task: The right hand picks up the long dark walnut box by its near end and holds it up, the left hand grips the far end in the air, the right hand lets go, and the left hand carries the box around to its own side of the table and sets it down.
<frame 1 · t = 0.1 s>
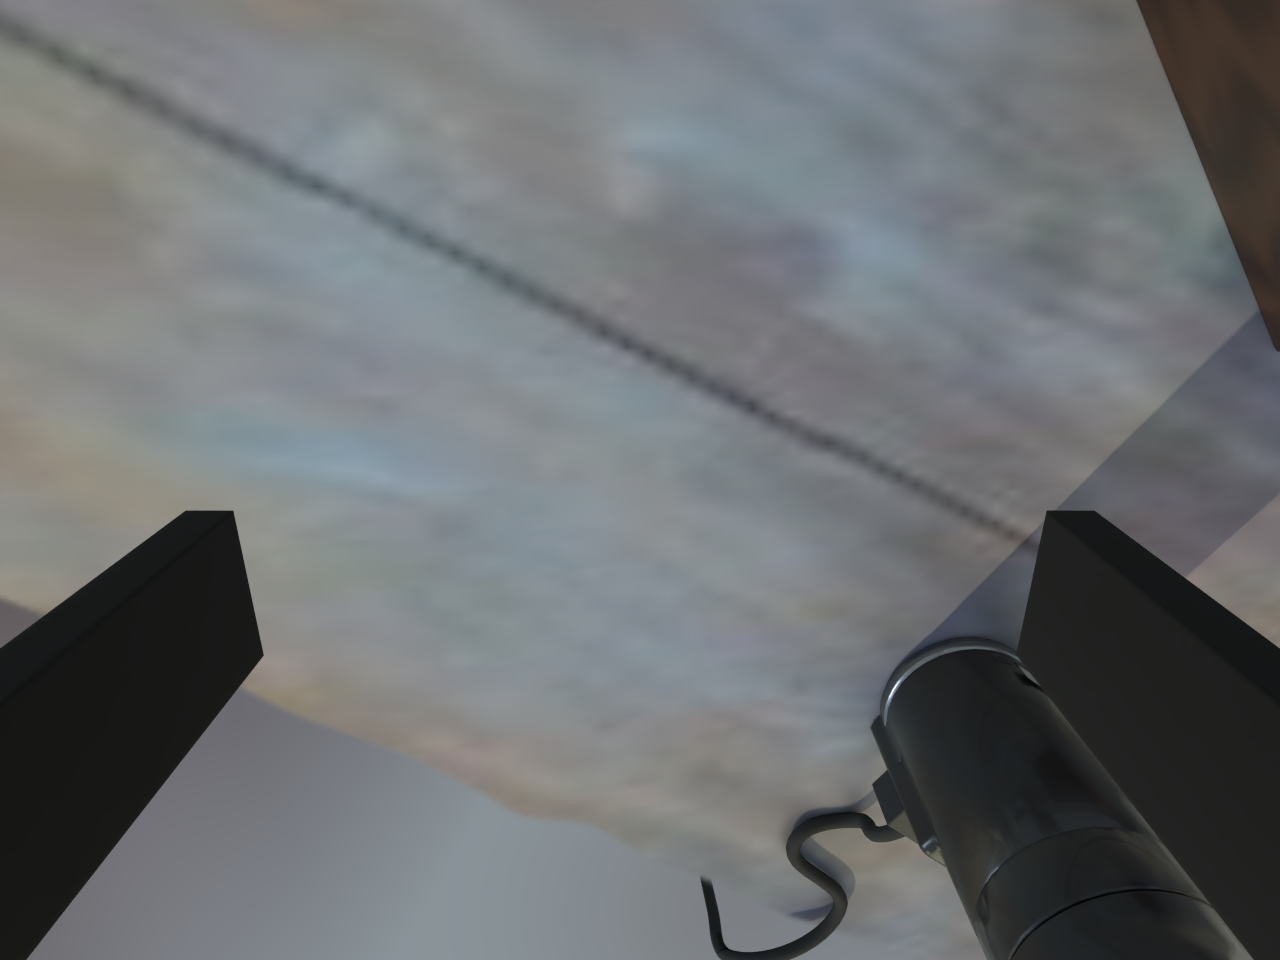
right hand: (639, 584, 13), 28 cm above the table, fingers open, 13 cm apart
walnut box: (1245, 107, 35), on the table
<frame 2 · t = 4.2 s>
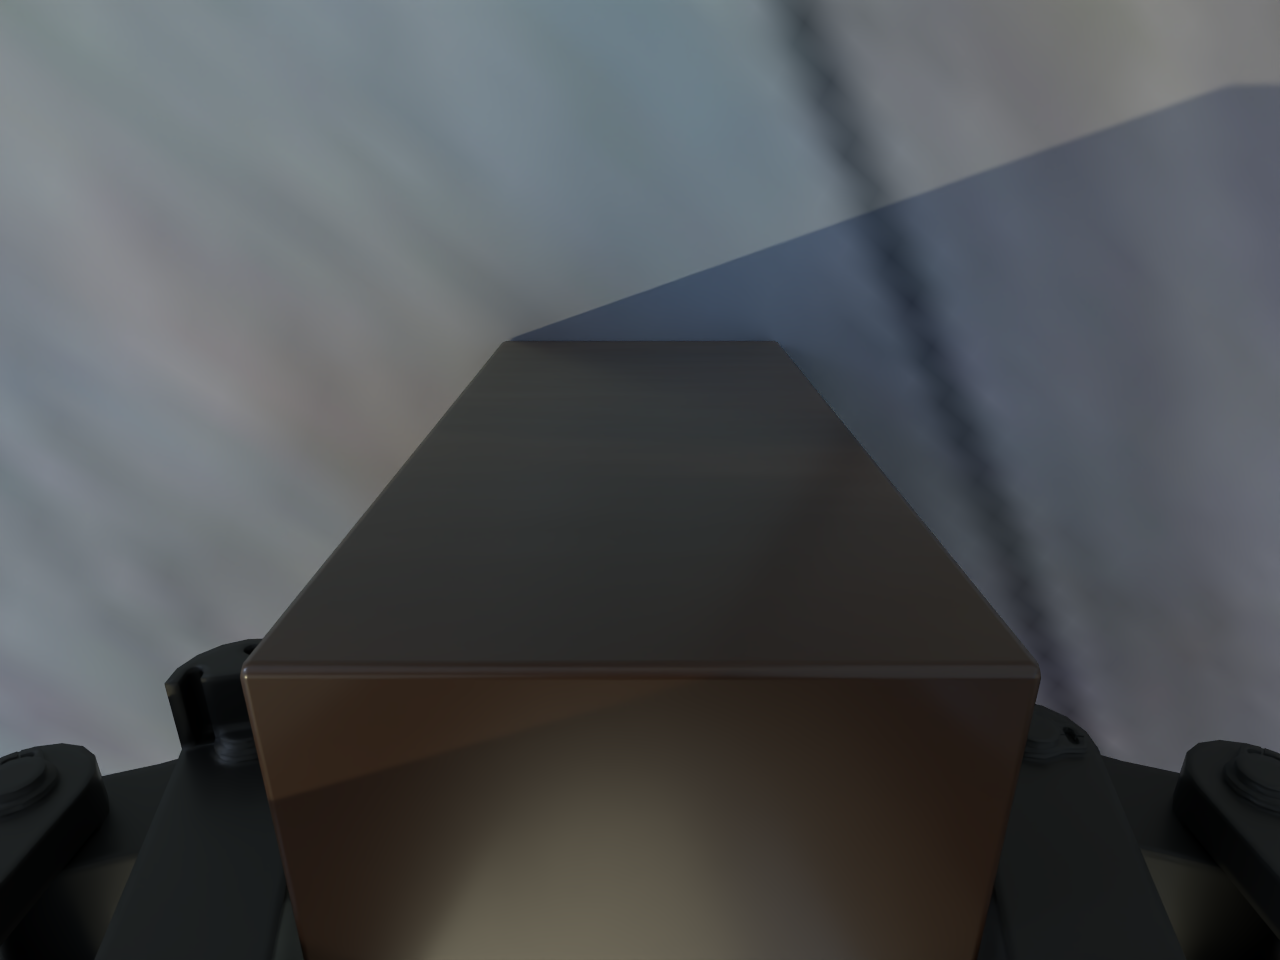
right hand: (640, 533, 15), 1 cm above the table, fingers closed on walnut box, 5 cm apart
walnut box: (640, 843, 18), on the table, touching right hand
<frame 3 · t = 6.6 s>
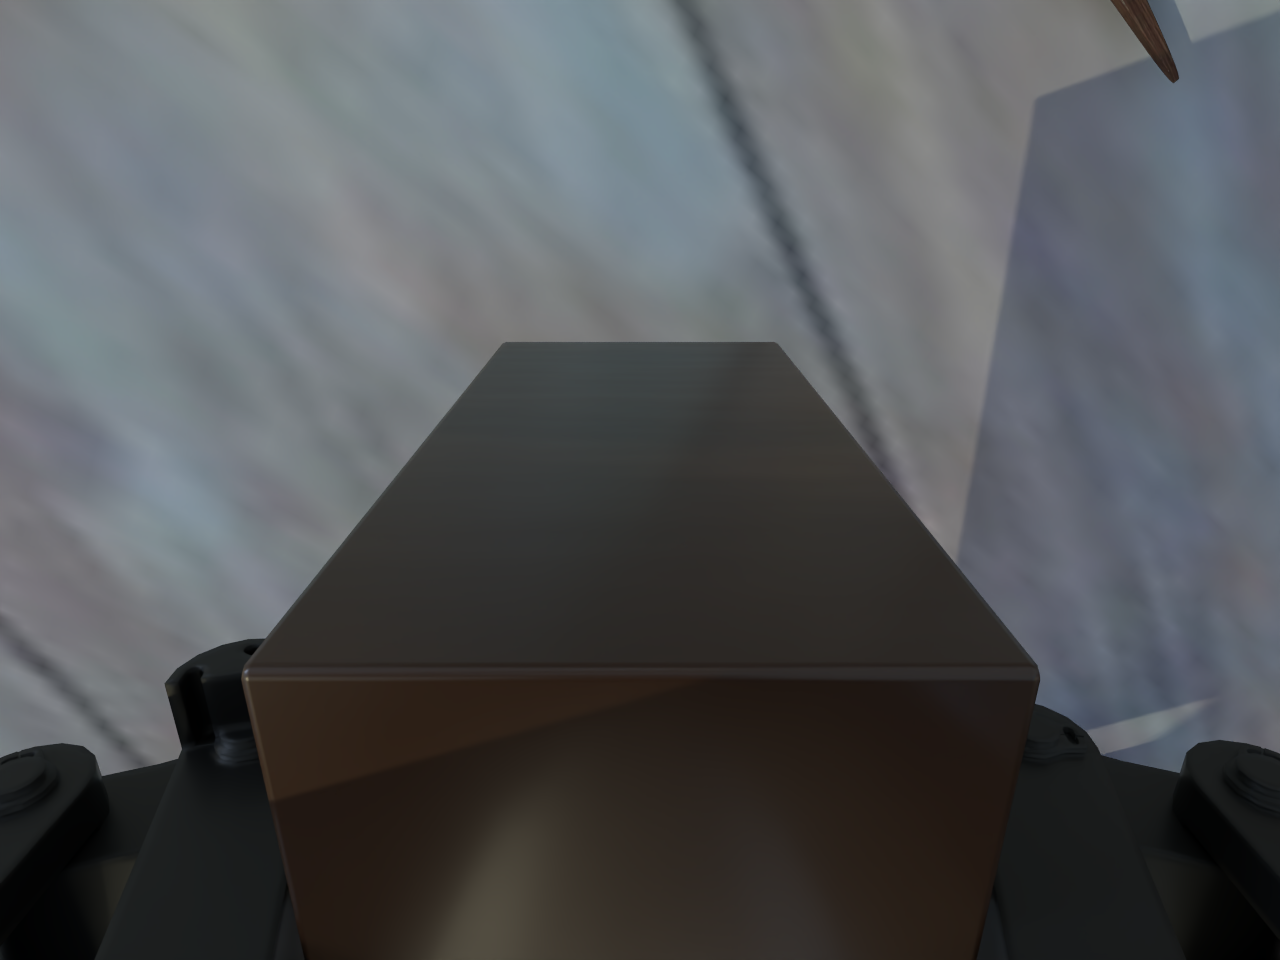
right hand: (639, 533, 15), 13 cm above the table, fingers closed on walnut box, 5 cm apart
walnut box: (640, 843, 18), point 12 cm above the table, touching right hand
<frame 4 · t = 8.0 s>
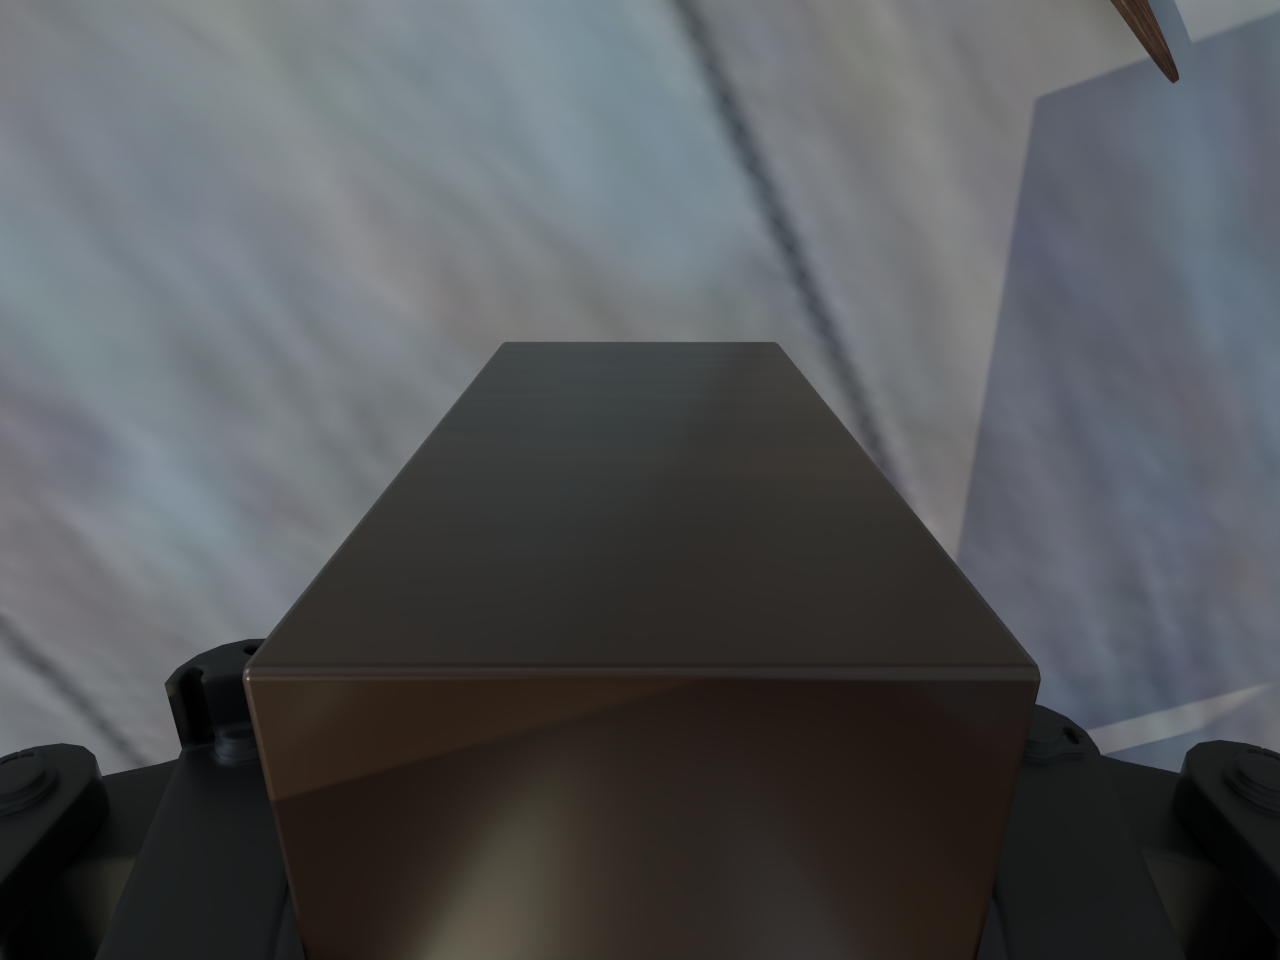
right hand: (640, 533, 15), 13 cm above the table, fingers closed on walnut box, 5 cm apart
walnut box: (639, 843, 18), point 12 cm above the table, touching right hand, left hand
when the right hand's fingers open (13 cm above the table, at t = 9.0 s): walnut box stays where it is, held by the left hand.
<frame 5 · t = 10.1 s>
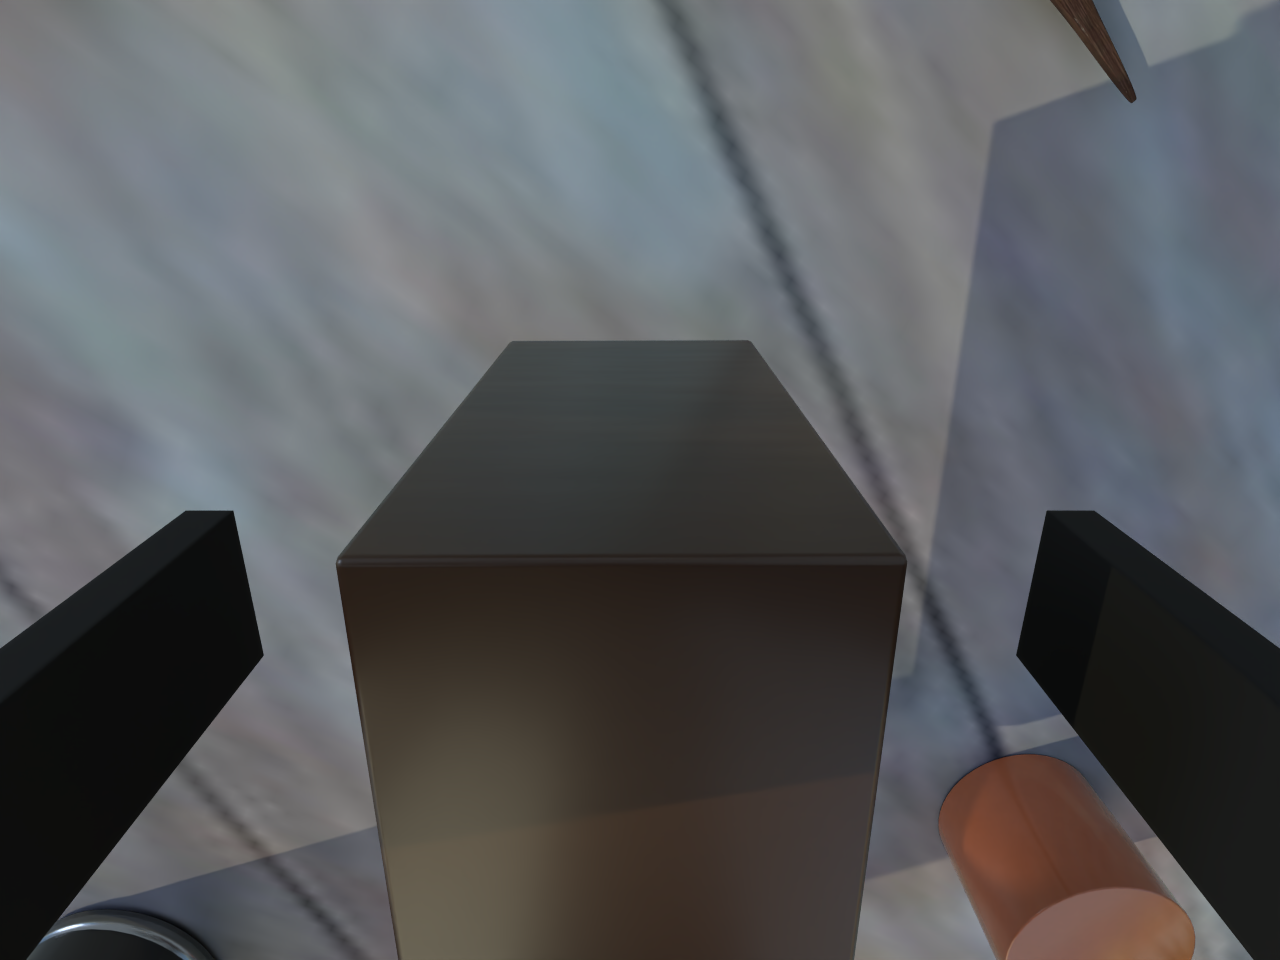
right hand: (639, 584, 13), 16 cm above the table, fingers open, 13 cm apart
walnut box: (633, 798, 20), point 12 cm above the table, touching left hand
orange clay cylinder: (1014, 815, 36), on the table
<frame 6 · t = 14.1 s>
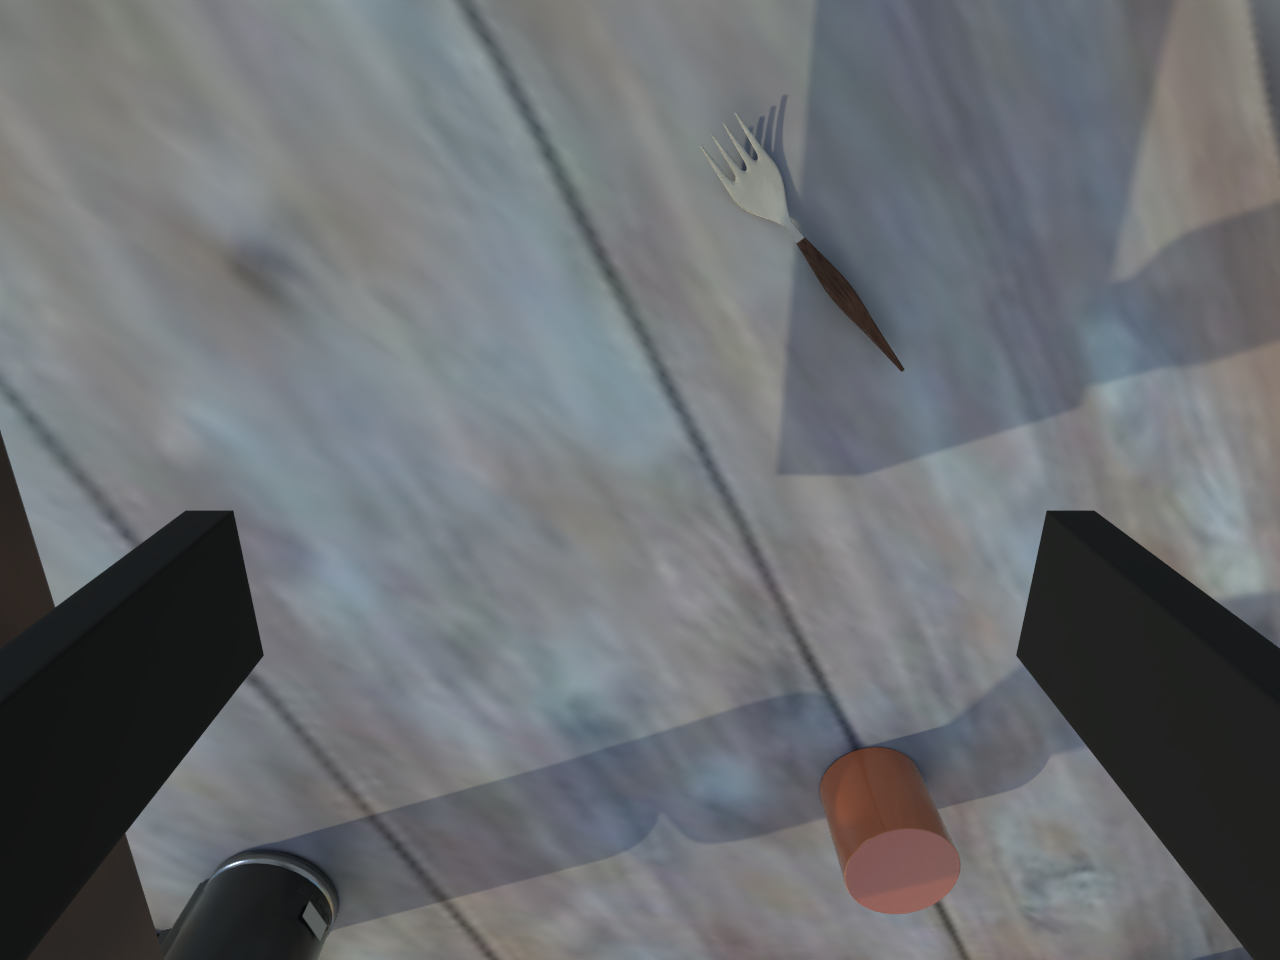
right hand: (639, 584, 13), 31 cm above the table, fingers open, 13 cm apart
walnut box: (2, 713, 22), point 24 cm above the table, touching left hand
orange clay cylinder: (870, 787, 54), on the table
fork: (811, 255, 41), on the table
when the left hand's fingers open (5 cm above the table, at t = 20.3 s): walnut box drops 1 cm, on the table.
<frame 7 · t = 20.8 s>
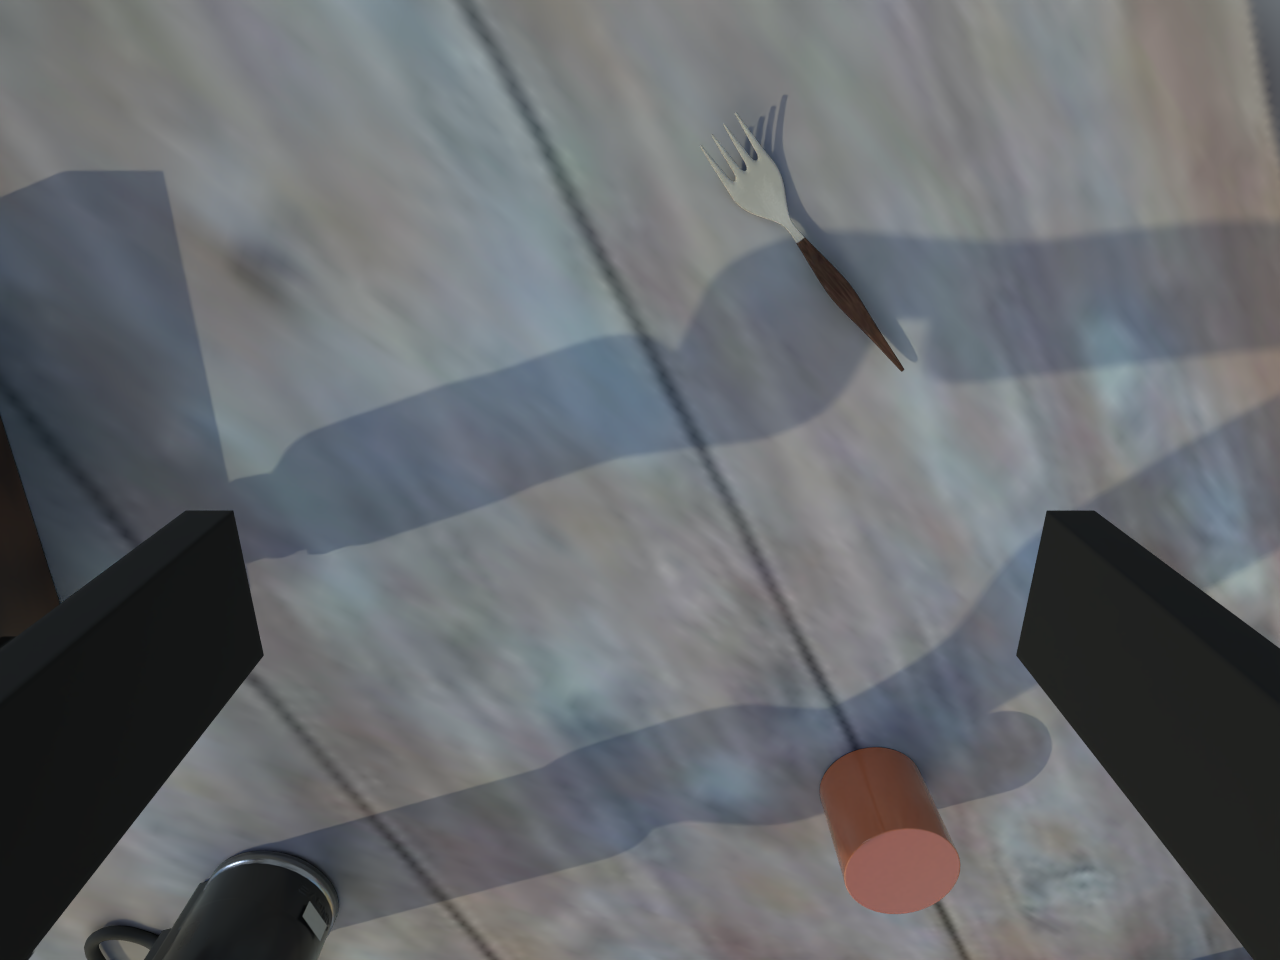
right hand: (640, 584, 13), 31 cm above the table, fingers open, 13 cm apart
orange clay cylinder: (870, 787, 54), on the table
fork: (811, 255, 41), on the table
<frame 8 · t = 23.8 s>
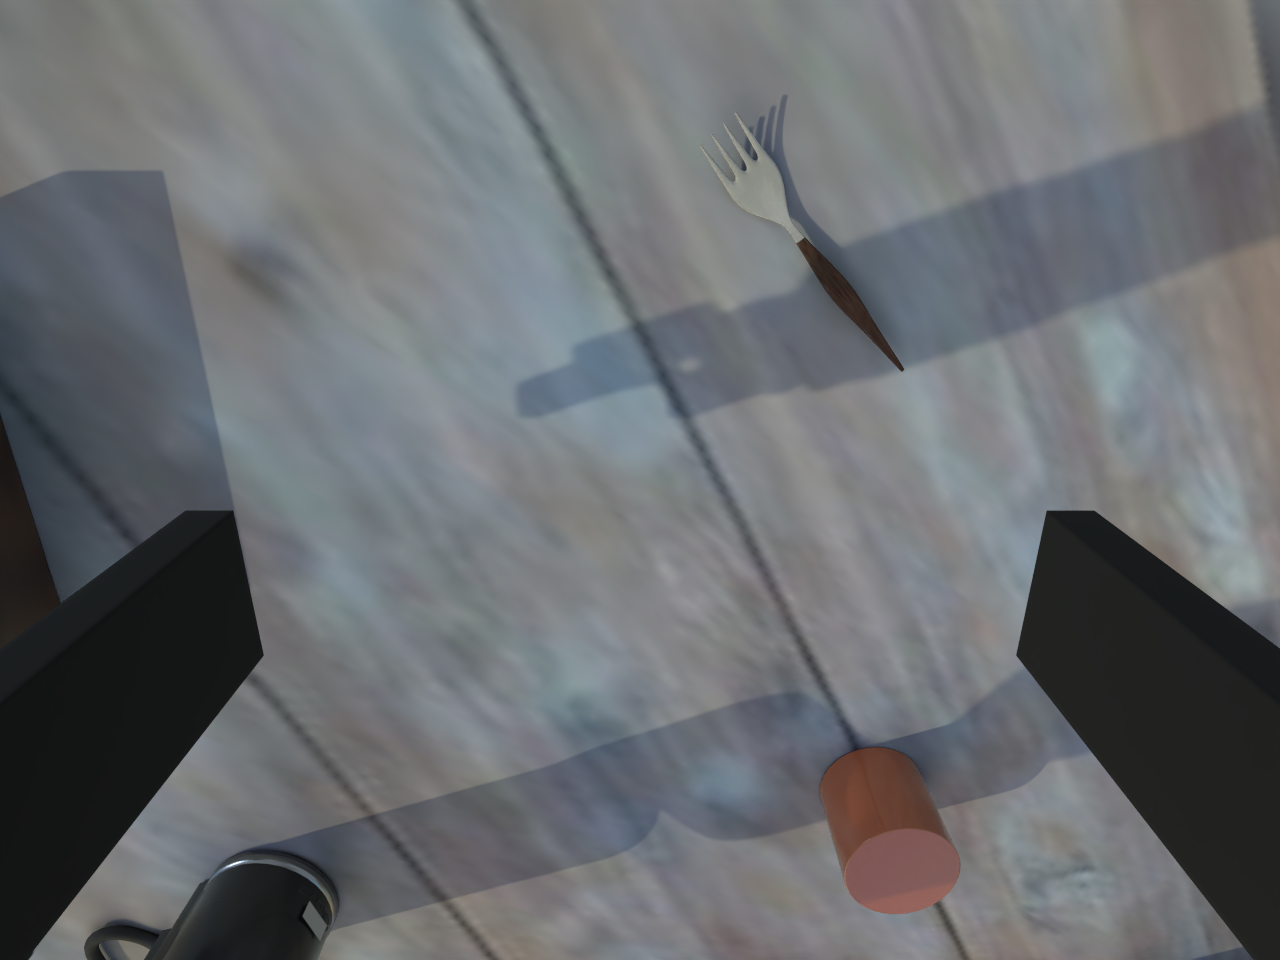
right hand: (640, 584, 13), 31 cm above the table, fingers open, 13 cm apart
orange clay cylinder: (870, 787, 54), on the table
fork: (811, 255, 41), on the table
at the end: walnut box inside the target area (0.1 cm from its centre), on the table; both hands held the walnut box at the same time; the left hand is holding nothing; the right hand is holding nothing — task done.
